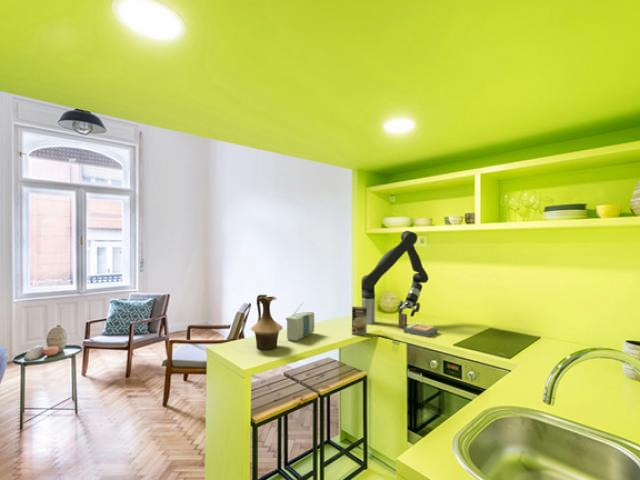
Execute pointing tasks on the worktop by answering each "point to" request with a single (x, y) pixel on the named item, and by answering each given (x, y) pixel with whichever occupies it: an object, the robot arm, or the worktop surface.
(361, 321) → the coffee box
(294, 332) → the stereo radio cassette player
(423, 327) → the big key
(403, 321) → the reddish brown block
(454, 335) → the worktop surface
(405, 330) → the keypad
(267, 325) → the pitcher
